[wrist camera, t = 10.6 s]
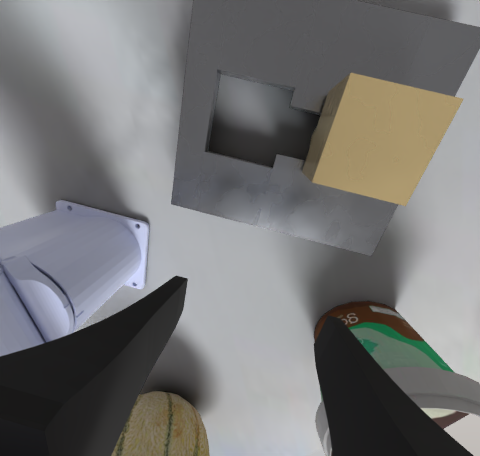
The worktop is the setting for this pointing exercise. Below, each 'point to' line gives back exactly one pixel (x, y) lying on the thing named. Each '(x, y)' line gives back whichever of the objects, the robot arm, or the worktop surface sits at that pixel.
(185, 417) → the cantaloupe
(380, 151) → the brass peg
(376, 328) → the food container
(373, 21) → the keyhole plate
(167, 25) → the worktop surface
